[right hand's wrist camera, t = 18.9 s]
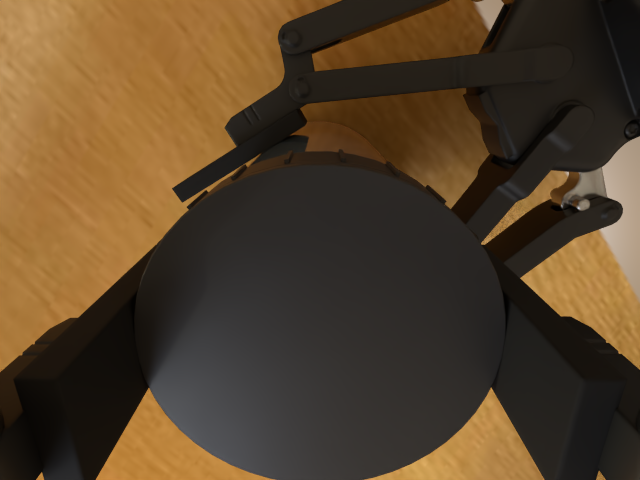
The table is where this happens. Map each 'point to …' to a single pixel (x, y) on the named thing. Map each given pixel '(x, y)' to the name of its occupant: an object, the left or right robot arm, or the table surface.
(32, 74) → the table surface
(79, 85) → the table surface
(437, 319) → the lid
